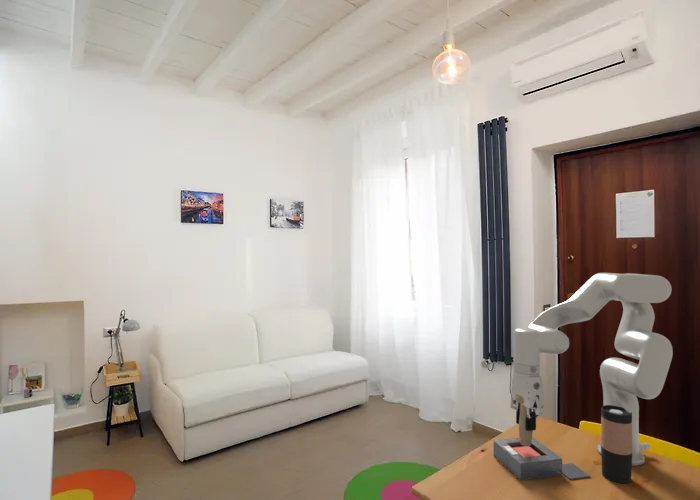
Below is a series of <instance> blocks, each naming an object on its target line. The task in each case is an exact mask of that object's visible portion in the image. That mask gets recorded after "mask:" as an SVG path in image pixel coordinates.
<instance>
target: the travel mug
mask: <svg viewBox="0 0 700 500" xmlns="http://www.w3.org/2000/svg"><path fill="white" fill-rule="evenodd" d="M600 411H601V415H600V416H601V417H600V419H601V420H600V423H601V424H600V427H601V428H600V444H601V454H600V457H601V458H600V459H601V475H602V476H603V477H604V478H605V480H608V481H609V482H612V483H614V484H618V485H629V484H631V483H632V467H633V465H632V413H629V412H627V411H626V409H624V408H622V407H618V406H613V405H605V406H603V405H602V406H601V410H600Z"/></svg>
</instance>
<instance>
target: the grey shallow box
mask: <svg viewBox="0 0 700 500" xmlns="http://www.w3.org/2000/svg"><path fill="white" fill-rule="evenodd" d="M531 441H532V443H531V446H529V447H531V448H532V449H533V450H535V451H536V452H537V453H539V454H540V455H541V456H537V457H528V458H524V457H522V456H521V455H520V454H519V453H518V452H516V451H515V450H514V449H513V448H514V447H523V445H521V443H520V437H513V438H506V439H504V438H503V439H502V438H501V439H494V440H493V457H494V458H495V459H497V460H498V461H499V462H500V463H501V464H502V465H503V466H504V468H506V469H507V470H508V471H509V472H511V474H513V476H515V477H516V478H517V479H518V480H519V481H520V482H521V481H529V480H535V479H544V478H551V477H552V478H553V477H561V476H563V474H562V464H563V458H562V457H561V456H559V455H558V454H556V453H555V452H554V451H553V450H551V449H550V448H548V447H547V446H546V445H544V444H543V443H541V442H540V441H539V440H538V439H536V438H534V437H533V436H532V440H531Z"/></svg>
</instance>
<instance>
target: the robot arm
mask: <svg viewBox="0 0 700 500" xmlns="http://www.w3.org/2000/svg"><path fill="white" fill-rule="evenodd" d="M671 294H672V285H671V283H670V281H669V280H668V279H667V278H665V277H664V276H661V275H657V274H655V275H654V274H643V273H642V274H641V273H630V272H629V273H618V272H617V273H614V272H598V273H595V274H594V275H592V276H591V277H590V278H589V279H587V280H586V282H585V283H584V284H583V285H582V286H580V287H579V288H578V289H577V291H575V293H573V294H572V296H571V297H569V298H568V299H566V301H563V302H561V303H558V304H557V305H556V304H555V306H552V307H550V308H549V309H546V310H545V311H543V312H541V313H540V314H539V315H538V316H537V317H536V318H535V319H534V320H533V321H532V322H531V323H529V325H528V326H527V327H518V328H516V329H515V330H514V332H513V372H512V377H511V395H510V397H511V399H512V400H513V404H514V406H515V407H514V409H515V413H516V415H515V422H516V424H517V425H519V416H520V403H519V402H517V401H516V400H515V395H517V396H519V397H520V398H522V399H523V404H522V405H524V406H525V407H526V409H527V417H526V430H527V431H532V430H533V431H536V430H537V418H538V417H539V416H540V415H543V414H544V411H543V409H544V407H545V406H544V405H545V404H544V403H545V399H544V398H545V397H544V394H545V393H544V385H543V384H544V383H543V379H542V376H541V354H551V355H558V354H559V355H560V354H564V352H566V351H567V350H568V349H569V347H570V339H569V337H568V336H567V334H566V333H564V332H563V331H561V330H558V328H560V327H562V326H565V325H568V324H575V323H583V322H586V321H587V322H588V321H590V320H591V319H593V318H594V317H595V316H596V315H597V314H598V313H599V312H600V310H602V309H603V307H605V306H606V305H607V304H608V303H609V302H610V301H617V302H620V303H621V304H622V309H623V310H622V316H621V320H620V323H619V326H618V329H617V332H616V335H615V338H614V348H615V350H616V351H617V352H618V353H620V354H622V355H624V356H625V357H629V358H632V359H636V360H639V362H638V363H635V362H634V361H631V360H626V359H624V358H620V357H609V358H606V359H605V360H603V361H602V362H601V364H600V367H599V368H600V369H599V377H600V380H601V385H602V386H601V387H602V393H603V394H602V395H603V396H602V397H603V401H602V402H603V405H602V406H605V405H613V406H618V407H622V408H624V409H626V411H627V412H629V413H632V467H634V466H641V465H644V463H645V461H646V460H645V456H644V455H643V454H642V452H643V450H644V451H646V450H650V449H651V446H650V443H648V442H641V443H640V437H639V436H640V435H639V434H640V431H639V426H640V425H639V422H640V421H639V419H640V418H639V417H640V413H639V412H640V405H639V400H638V398H641V399H645V400H654V399H655V398H657V397H658V396H659V395H660V394H661V392H662V390H663V388H664V386H665V382H666V379H667V376H668V372H669V369H670V366H671V362H672V359H673V356H674V355H673V354H674V353H673V351H674V350H673V345H672V343H671V341H670V340H669V339H668V338H667V337H666V336H664V335H663V334H660V333H657V332H653V326H654V322H655V318H656V317H655V311H654V309H653V305H651V304H653V303H654V304H659V303H662V302H665V301H666V300H668V299H669V297H670V296H671ZM530 410H532V412H531V411H530ZM597 452H598V453H599V454H600V455H601V443H599V444H598V445H597Z"/></svg>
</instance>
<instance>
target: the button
mask: <svg viewBox="0 0 700 500" xmlns="http://www.w3.org/2000/svg"><path fill="white" fill-rule="evenodd" d="M513 449H514V450H515V451H516V452H518V453H519V454H520V455H521V456H522V457H524V458H528V457H537V456H541V455H540V454H539V453H537V452H536V451H535V450H533V449H532V448H531V447H529V446H528V447H527V446H523V447H514V448H513Z"/></svg>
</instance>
